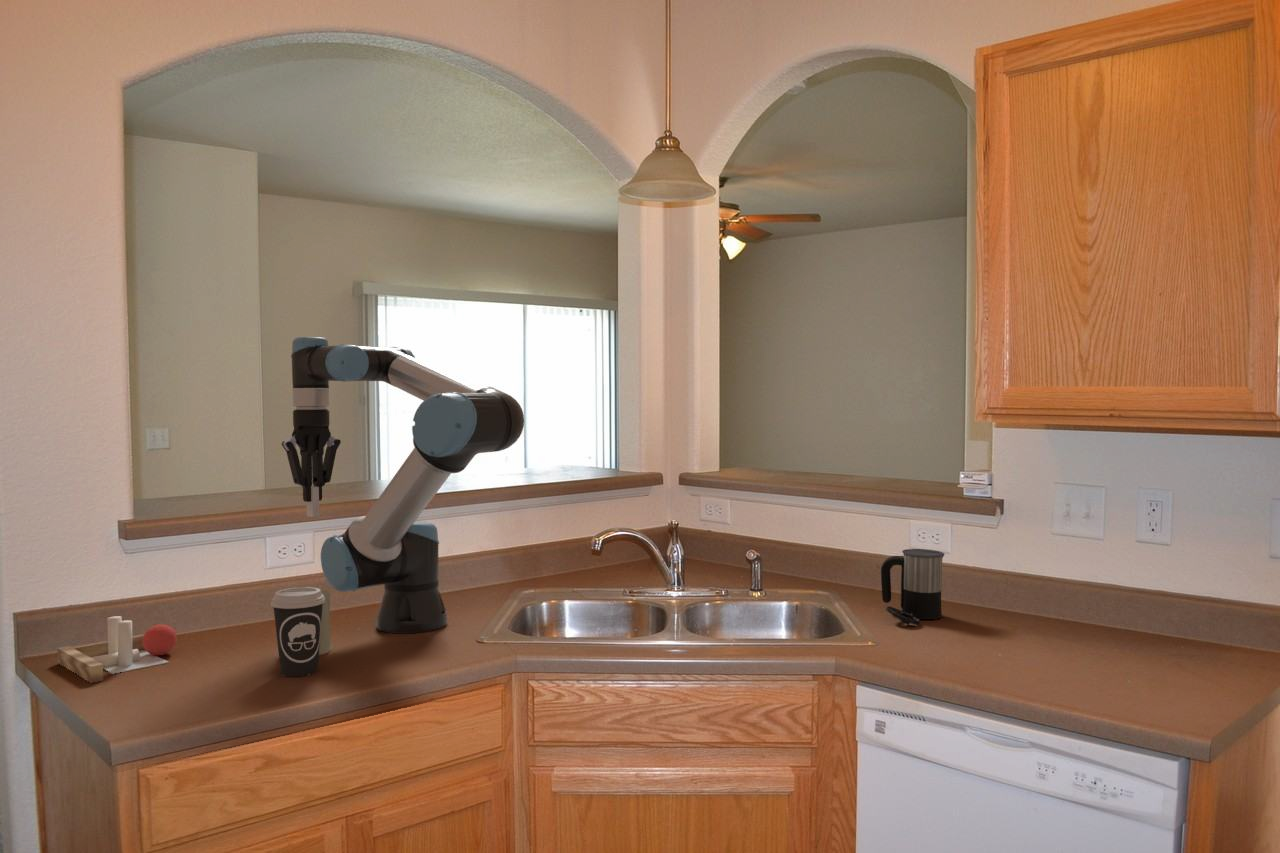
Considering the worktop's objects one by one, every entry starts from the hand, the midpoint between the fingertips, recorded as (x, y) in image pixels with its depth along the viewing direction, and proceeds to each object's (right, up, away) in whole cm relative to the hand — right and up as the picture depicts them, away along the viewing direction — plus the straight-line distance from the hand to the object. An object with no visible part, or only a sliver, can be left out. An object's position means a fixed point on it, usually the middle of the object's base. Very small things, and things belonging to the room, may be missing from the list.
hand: (312, 516), depth 212 cm
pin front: (-25, -24, -25) cm, 43 cm away
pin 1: (-29, -26, -26) cm, 47 cm away
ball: (-23, -22, -21) cm, 39 cm away
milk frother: (+133, -24, +7) cm, 136 cm away
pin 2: (-26, -26, -29) cm, 46 cm away
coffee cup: (+8, -26, -33) cm, 43 cm away
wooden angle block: (-27, -26, -27) cm, 46 cm away
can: (+5, -25, -19) cm, 32 cm away
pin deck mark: (-26, -26, -26) cm, 45 cm away
